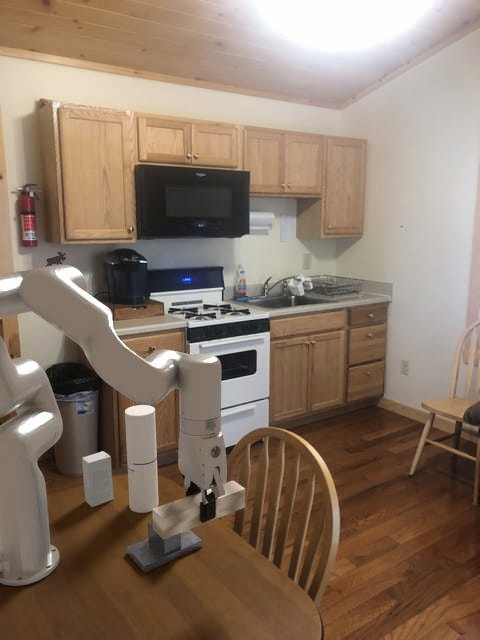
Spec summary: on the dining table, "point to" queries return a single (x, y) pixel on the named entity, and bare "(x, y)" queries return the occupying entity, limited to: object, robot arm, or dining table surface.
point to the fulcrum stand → (162, 548)
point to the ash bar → (195, 510)
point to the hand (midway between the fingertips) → (200, 513)
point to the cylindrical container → (141, 458)
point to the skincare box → (97, 478)
